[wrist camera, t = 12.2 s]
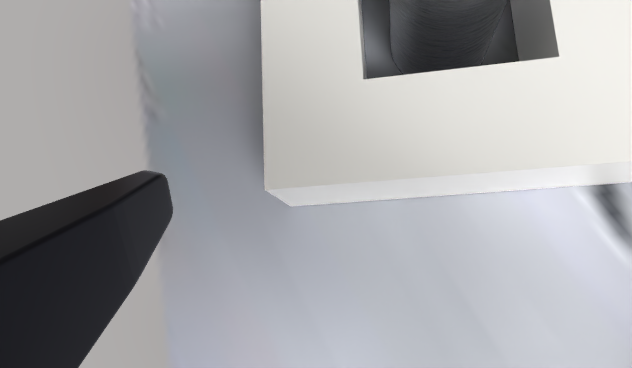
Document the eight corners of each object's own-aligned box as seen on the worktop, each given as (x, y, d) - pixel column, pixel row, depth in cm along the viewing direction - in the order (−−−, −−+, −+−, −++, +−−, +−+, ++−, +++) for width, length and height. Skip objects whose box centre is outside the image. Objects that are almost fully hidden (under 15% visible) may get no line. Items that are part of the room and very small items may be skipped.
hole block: (639, 181, 15) (710, 154, 12) (290, 206, 17) (264, 189, 13) (580, -119, 17) (625, -214, 14) (281, -67, 19) (257, -139, 16)
